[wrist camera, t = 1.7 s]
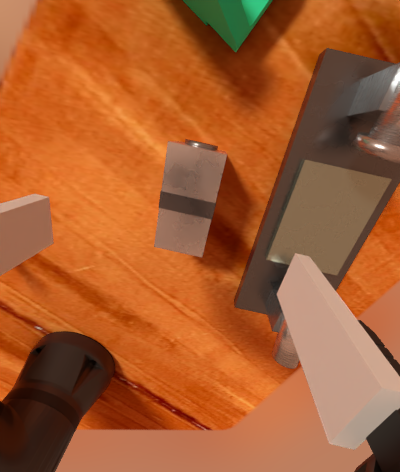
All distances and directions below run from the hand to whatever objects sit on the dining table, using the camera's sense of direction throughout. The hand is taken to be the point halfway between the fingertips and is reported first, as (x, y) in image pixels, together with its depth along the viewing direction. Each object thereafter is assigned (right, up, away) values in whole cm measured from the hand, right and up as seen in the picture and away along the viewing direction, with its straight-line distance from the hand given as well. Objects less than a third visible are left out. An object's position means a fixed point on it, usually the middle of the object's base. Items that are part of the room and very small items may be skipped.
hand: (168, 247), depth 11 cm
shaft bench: (+16, +3, +15) cm, 22 cm away
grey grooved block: (+1, +6, +15) cm, 16 cm away
